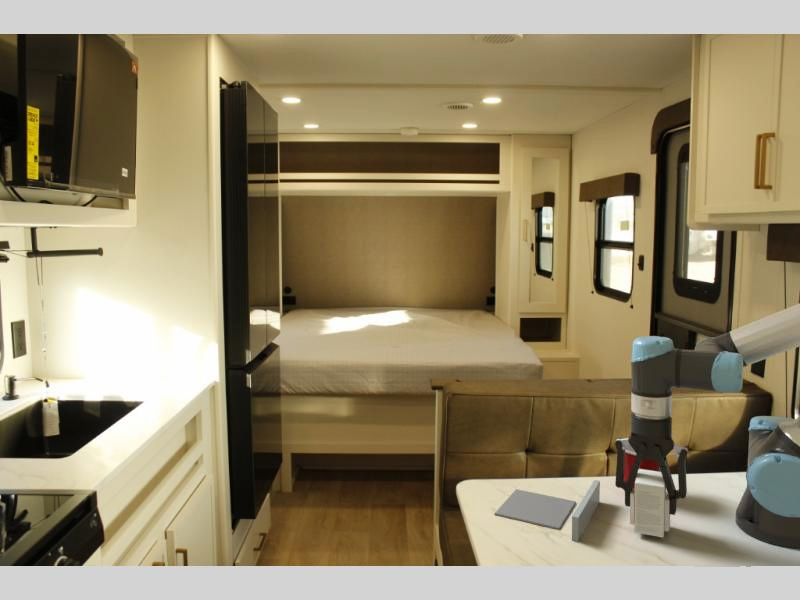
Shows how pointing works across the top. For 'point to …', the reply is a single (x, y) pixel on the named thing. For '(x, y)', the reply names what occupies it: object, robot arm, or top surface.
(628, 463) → the plastic cup
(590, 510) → the low wall
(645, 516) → the small box
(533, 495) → the mat
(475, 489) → the top surface
